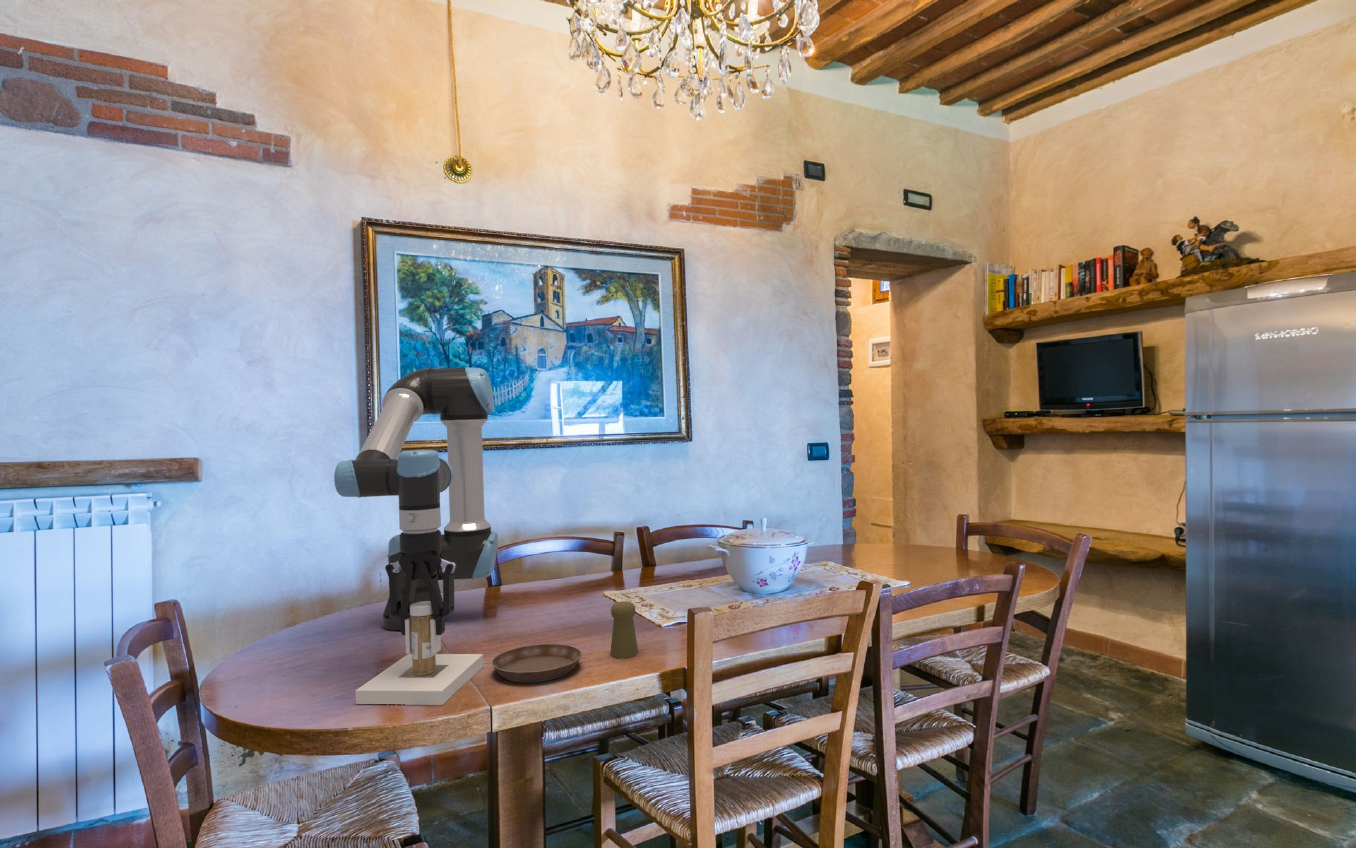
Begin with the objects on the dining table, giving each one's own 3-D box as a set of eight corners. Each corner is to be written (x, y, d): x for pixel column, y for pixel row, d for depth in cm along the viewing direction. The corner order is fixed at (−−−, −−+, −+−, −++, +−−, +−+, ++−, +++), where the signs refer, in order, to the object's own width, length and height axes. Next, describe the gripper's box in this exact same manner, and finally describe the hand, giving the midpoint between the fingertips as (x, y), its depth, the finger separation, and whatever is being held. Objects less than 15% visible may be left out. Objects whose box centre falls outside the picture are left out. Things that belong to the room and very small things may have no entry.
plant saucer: (486, 665, 145) (486, 650, 145) (569, 652, 152) (569, 638, 152) (499, 694, 128) (499, 677, 128) (592, 678, 135) (592, 662, 135)
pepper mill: (616, 660, 145) (615, 607, 145) (605, 652, 150) (604, 601, 150) (643, 655, 147) (641, 603, 147) (631, 647, 153) (630, 597, 153)
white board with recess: (408, 666, 144) (408, 654, 144) (483, 666, 143) (483, 654, 143) (355, 704, 125) (355, 690, 125) (442, 705, 123) (441, 691, 123)
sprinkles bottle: (435, 676, 132) (433, 605, 132) (409, 678, 131) (408, 607, 131) (437, 667, 137) (436, 599, 137) (413, 670, 136) (411, 601, 136)
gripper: (366, 534, 131) (370, 658, 131) (456, 533, 130) (459, 658, 130) (386, 527, 138) (389, 645, 139) (471, 526, 137) (474, 645, 137)
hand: (423, 651), depth 134 cm, fingers closed on sprinkles bottle, 4 cm apart
